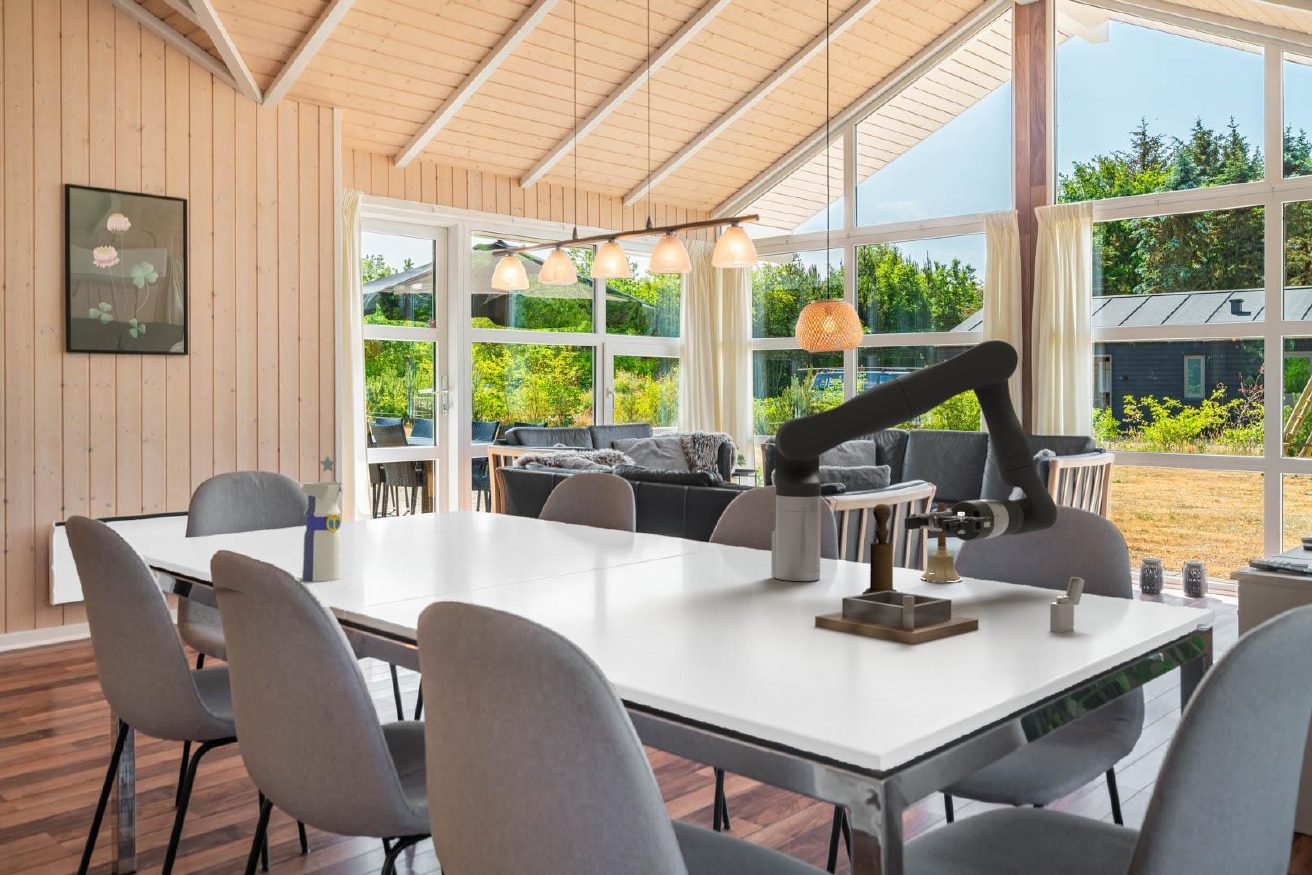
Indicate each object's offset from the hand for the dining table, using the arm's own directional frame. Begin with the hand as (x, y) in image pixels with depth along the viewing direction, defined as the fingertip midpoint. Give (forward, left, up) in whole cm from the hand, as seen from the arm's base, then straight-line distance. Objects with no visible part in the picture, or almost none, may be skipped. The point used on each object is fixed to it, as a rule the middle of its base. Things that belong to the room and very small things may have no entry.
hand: (924, 525), depth 190 cm
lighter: (+30, -5, -14) cm, 33 cm away
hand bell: (-12, +25, -14) cm, 31 cm away
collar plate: (+12, -25, -14) cm, 31 cm away
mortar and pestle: (-1, -11, -14) cm, 18 cm away
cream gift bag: (-93, -72, -14) cm, 119 cm away
